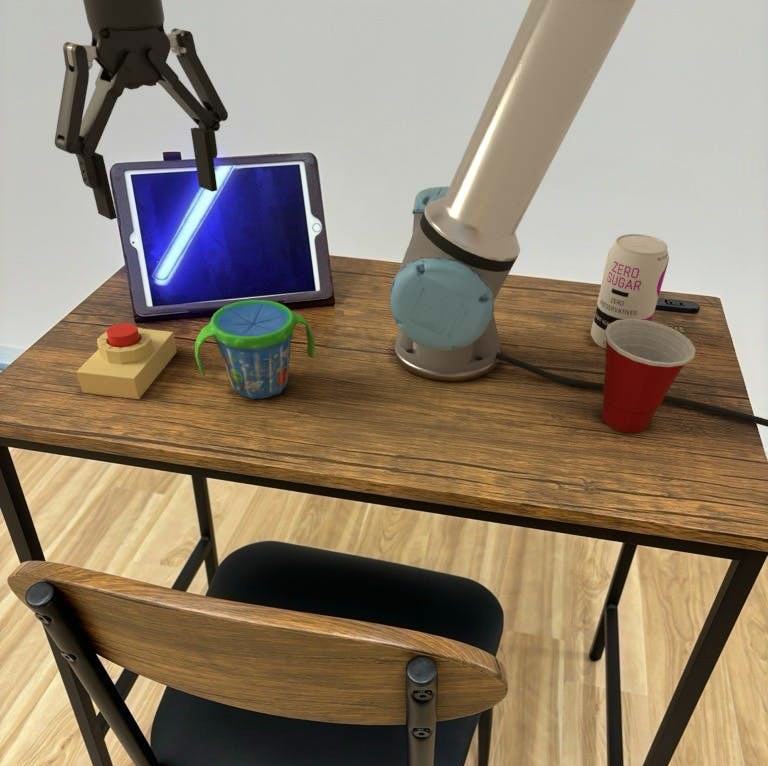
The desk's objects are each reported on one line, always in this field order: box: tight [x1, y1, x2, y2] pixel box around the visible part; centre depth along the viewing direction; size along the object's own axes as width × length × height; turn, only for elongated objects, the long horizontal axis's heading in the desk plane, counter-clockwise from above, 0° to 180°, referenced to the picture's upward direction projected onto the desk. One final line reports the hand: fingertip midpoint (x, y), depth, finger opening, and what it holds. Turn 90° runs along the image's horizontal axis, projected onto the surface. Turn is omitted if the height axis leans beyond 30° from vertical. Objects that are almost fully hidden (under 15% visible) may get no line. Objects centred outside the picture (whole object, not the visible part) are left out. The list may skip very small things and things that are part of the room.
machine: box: [76, 327, 178, 400], centre depth 101 cm, size 13×8×5 cm, turn 170°
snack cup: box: [194, 299, 316, 400], centre depth 97 cm, size 16×10×10 cm
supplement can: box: [590, 233, 670, 350], centre depth 107 cm, size 8×8×15 cm
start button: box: [106, 322, 140, 348], centre depth 99 cm, size 4×4×2 cm
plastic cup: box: [602, 319, 697, 434], centre depth 92 cm, size 11×11×12 cm
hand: (160, 202), depth 86 cm, fingers open, 13 cm apart
